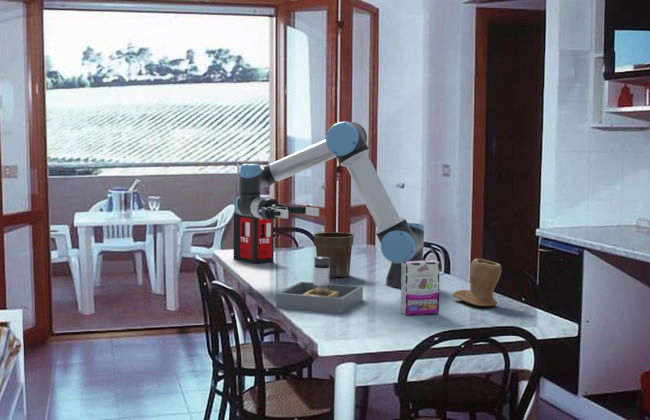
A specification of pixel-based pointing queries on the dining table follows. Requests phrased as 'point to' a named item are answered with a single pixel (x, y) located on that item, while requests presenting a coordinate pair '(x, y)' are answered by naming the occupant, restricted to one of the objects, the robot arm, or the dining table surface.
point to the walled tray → (319, 298)
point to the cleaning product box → (253, 239)
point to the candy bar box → (420, 287)
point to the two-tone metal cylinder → (321, 276)
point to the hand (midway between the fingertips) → (303, 213)
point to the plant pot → (335, 251)
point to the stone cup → (481, 283)
